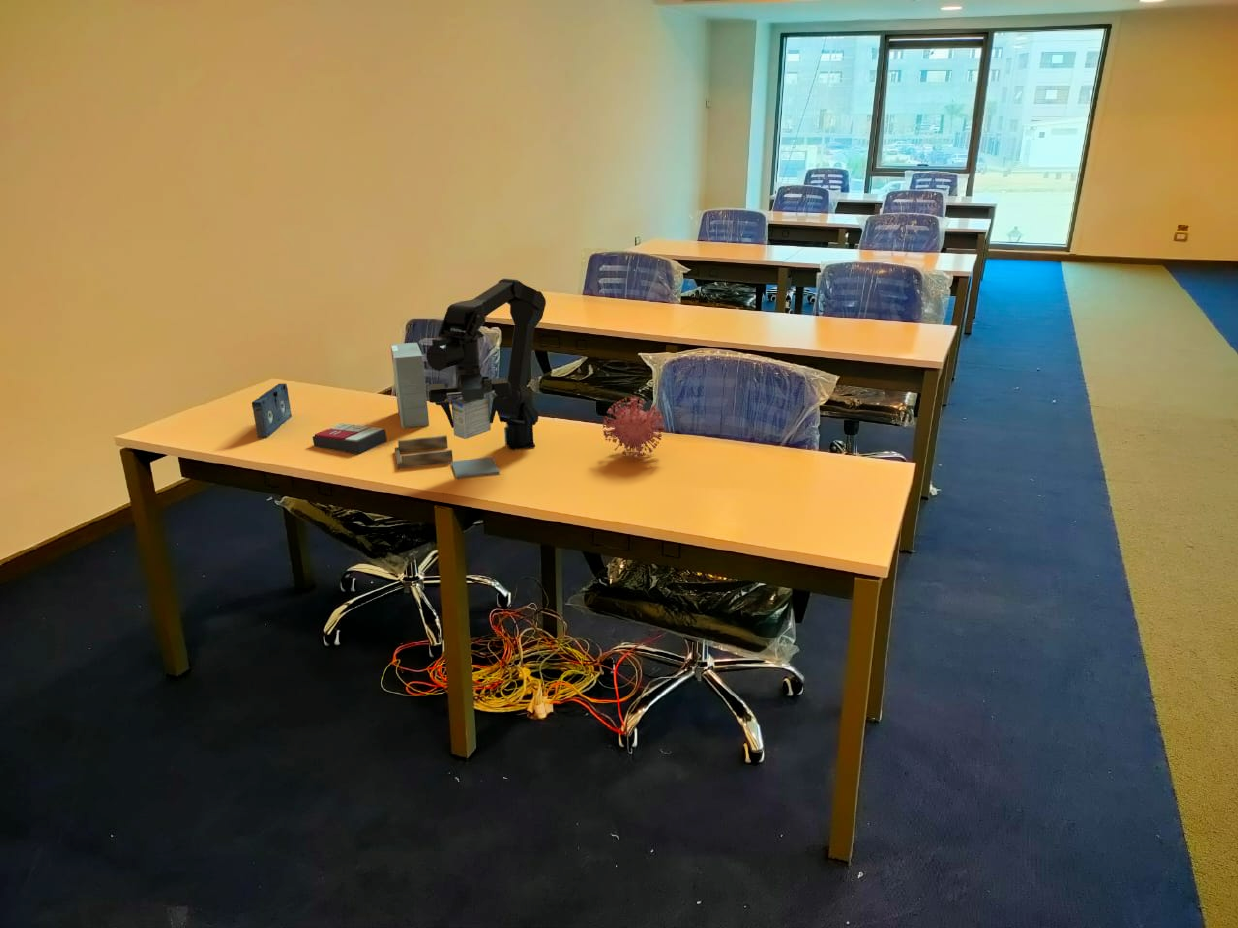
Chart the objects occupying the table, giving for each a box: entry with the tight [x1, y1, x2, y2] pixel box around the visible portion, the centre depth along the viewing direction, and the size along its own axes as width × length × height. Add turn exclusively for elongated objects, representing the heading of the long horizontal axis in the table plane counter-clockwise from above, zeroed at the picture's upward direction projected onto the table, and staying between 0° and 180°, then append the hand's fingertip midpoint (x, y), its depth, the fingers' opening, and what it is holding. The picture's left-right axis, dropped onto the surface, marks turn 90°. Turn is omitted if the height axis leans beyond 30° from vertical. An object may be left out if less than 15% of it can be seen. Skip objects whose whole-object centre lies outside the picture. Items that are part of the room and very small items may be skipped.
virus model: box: [602, 396, 665, 459], centre depth 209 cm, size 15×15×15 cm
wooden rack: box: [394, 434, 454, 469], centre depth 212 cm, size 13×12×3 cm
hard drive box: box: [389, 342, 430, 429], centre depth 237 cm, size 16×8×20 cm, turn 17°
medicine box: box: [450, 394, 492, 440], centre depth 200 cm, size 8×4×9 cm, turn 141°
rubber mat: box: [450, 456, 500, 480], centre depth 205 cm, size 10×10×1 cm
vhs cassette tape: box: [251, 383, 293, 439], centre depth 234 cm, size 18×3×10 cm, turn 178°
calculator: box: [312, 423, 388, 456], centre depth 222 cm, size 11×4×15 cm
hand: (472, 425), depth 201 cm, fingers closed on medicine box, 9 cm apart
